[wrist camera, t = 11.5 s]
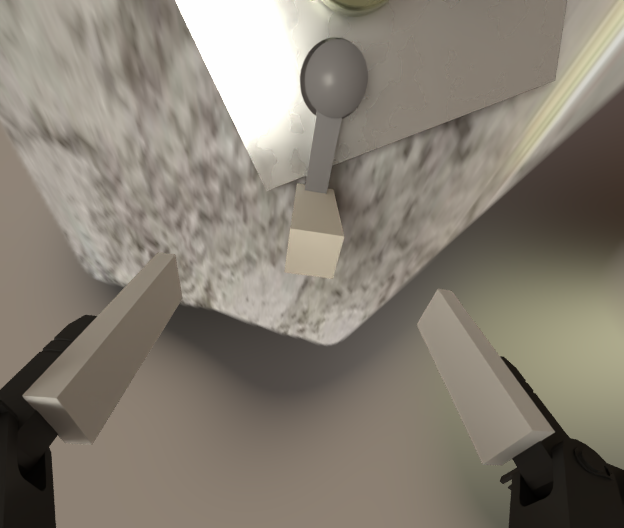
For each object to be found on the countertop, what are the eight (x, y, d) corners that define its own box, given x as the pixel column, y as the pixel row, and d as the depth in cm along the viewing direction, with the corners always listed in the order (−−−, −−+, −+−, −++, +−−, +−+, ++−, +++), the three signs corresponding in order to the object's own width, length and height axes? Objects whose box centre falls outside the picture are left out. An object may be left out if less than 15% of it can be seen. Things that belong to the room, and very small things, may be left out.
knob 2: (310, 38, 16) (310, -4, 9) (369, 51, 16) (414, 21, 9) (288, 216, 23) (278, 271, 16) (330, 223, 24) (338, 279, 16)
